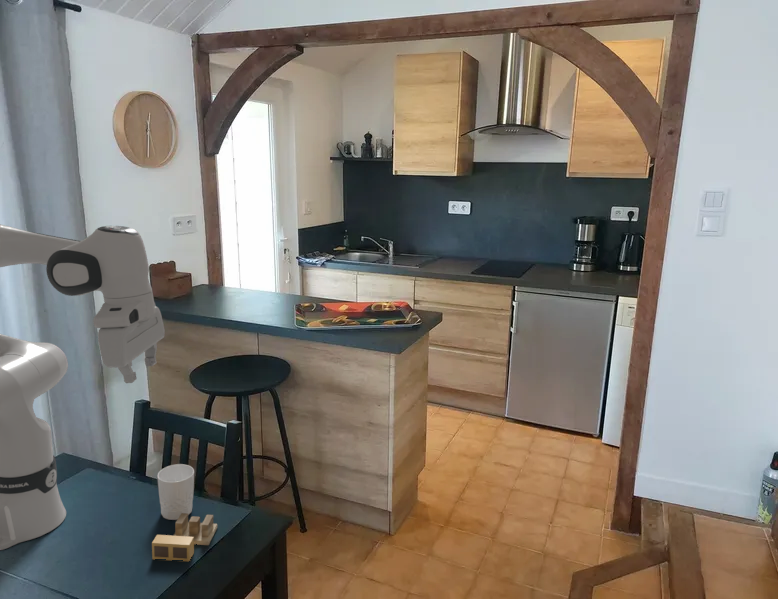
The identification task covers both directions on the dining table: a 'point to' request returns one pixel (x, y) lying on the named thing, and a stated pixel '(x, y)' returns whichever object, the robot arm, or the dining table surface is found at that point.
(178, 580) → the dining table surface
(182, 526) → the display stand
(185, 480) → the white cup
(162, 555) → the tan rectangular block
